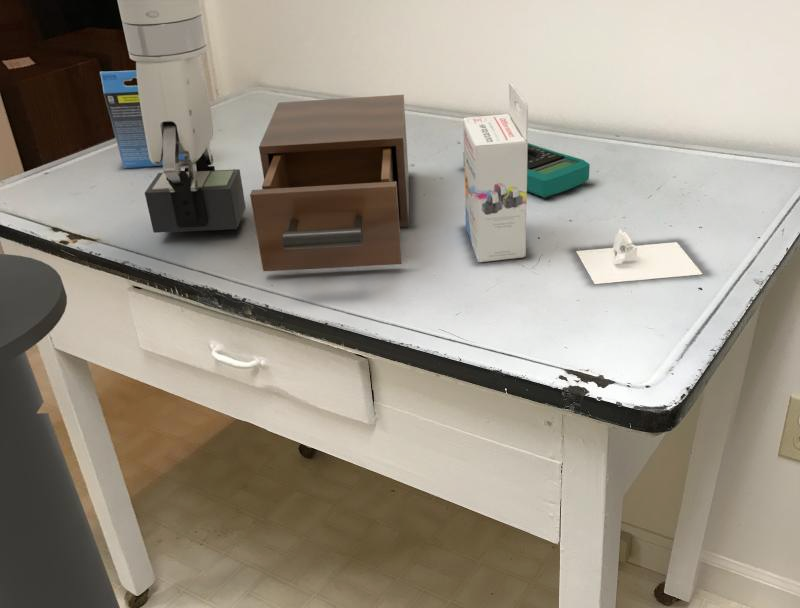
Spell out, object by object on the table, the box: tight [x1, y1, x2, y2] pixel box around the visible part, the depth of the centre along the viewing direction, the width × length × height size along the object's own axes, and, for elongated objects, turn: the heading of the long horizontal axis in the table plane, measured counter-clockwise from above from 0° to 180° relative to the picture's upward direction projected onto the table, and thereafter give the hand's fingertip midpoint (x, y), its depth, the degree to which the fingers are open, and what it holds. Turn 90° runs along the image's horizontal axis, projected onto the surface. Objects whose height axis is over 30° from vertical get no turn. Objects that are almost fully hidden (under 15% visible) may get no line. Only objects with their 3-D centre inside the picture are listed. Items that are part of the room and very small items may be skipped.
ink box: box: [462, 81, 529, 263], centre depth 82 cm, size 8×5×15 cm, turn 5°
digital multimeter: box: [463, 142, 591, 199], centre depth 100 cm, size 7×15×3 cm, turn 36°
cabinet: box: [258, 94, 410, 228], centre depth 95 cm, size 16×15×10 cm
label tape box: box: [99, 69, 185, 169], centre depth 110 cm, size 9×4×12 cm, turn 88°
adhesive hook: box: [611, 228, 638, 265], centre depth 80 cm, size 3×3×3 cm
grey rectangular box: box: [144, 168, 246, 234], centre depth 92 cm, size 9×6×5 cm, turn 90°
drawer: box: [249, 146, 403, 272], centre depth 84 cm, size 19×13×8 cm
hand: (199, 212), depth 93 cm, fingers closed on grey rectangular box, 6 cm apart
